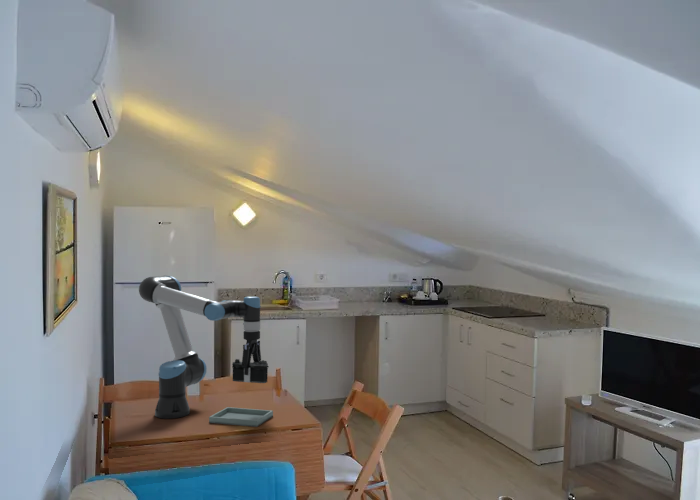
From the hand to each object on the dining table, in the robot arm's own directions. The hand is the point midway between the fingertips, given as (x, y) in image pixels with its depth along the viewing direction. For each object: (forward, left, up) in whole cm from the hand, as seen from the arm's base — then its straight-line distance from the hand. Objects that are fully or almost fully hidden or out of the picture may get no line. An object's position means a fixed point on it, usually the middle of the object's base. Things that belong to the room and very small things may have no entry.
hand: (251, 379), depth 270 cm
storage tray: (0, -11, -15) cm, 19 cm away
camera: (0, 0, -1) cm, 1 cm away
